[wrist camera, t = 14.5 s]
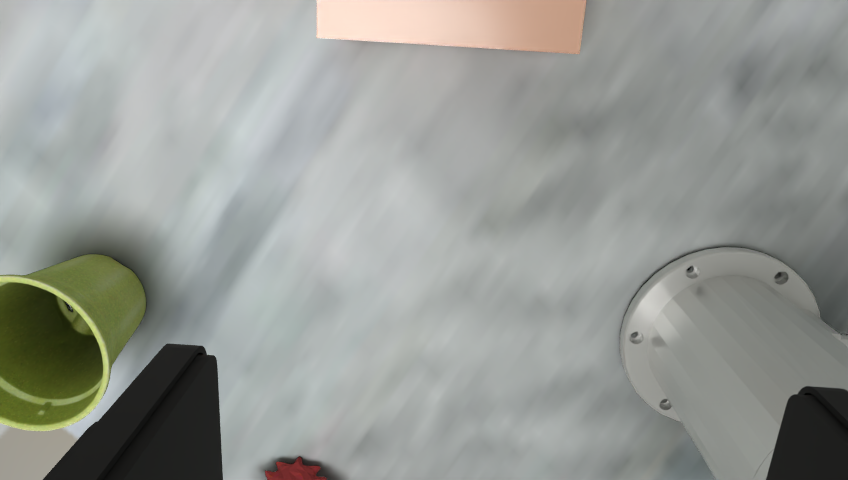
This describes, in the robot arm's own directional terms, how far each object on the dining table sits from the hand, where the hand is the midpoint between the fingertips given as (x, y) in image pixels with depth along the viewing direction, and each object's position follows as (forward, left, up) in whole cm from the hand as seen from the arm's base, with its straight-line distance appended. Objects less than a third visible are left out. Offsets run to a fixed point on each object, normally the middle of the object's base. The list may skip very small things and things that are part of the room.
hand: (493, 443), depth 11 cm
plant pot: (+23, +12, -31) cm, 40 cm away
